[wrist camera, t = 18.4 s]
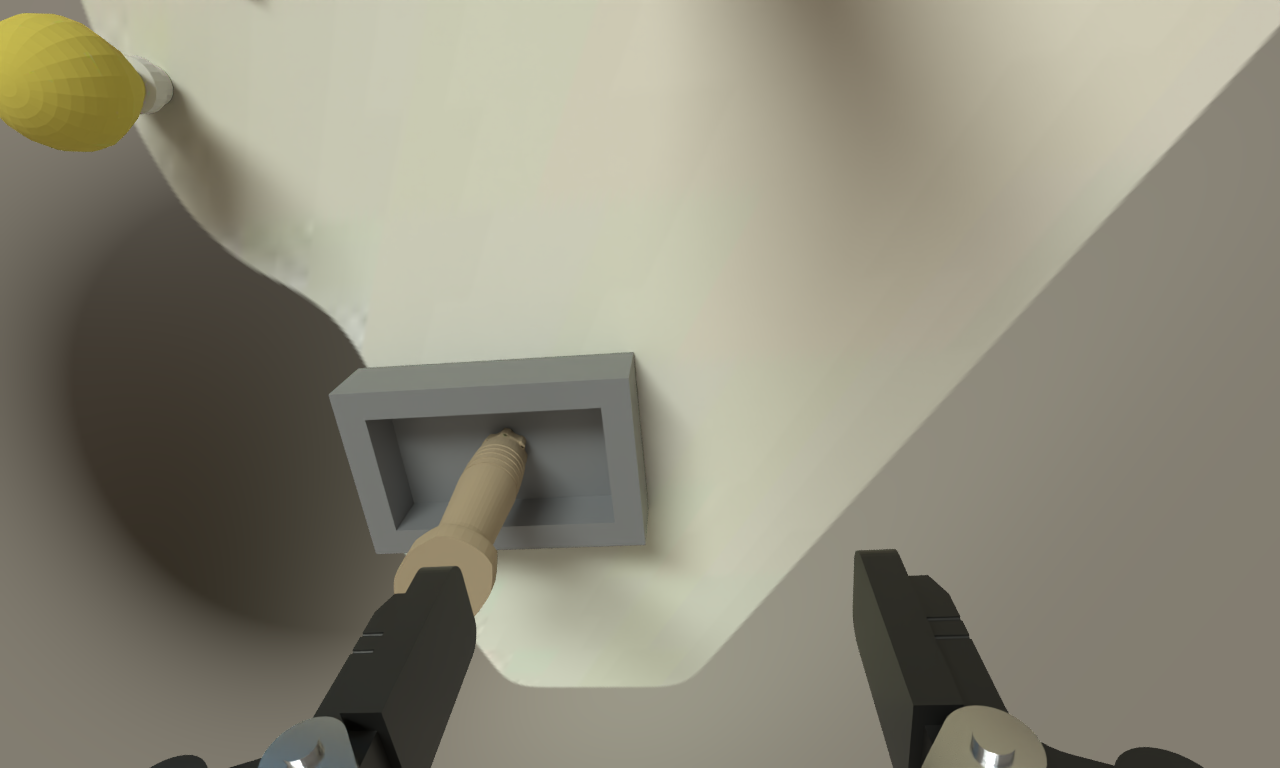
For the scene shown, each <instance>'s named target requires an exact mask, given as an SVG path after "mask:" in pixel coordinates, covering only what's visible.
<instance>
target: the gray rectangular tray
mask: <svg viewBox="0 0 1280 768" xmlns="http://www.w3.org/2000/svg"><path fill="white" fill-rule="evenodd" d="M329 398H330V401H331V405H332V408H333V411H334V415H335V418H336V421H337V425H338V428H339V431H340V434H341V438H342V441H343V445H344V448H345V451H346V454H347V458H348V461H349V464H350V468H351V471H352V474H353V478H354V481H355V484H356V488H357V491H358V494H359V498H360V501H361V504H362V508H363V511H364V514H365V518H366V521H367V524H368V528H369V531H370V534H371V538H372V541H373V544H374V548H375V551H376V554H388V553H408V552H409V550H410V548H411V547H412V545H413V543H414V542H415V541H416V540H417V539H418V538H419V537H421V536H422V535H423V534H425V533H426V532H428V531H430V530H431V529H433V528H435V527H437V526H439V524H440V521H441V519H442V517H443V515H444V513H445V510H446V508H447V506H448V504H449V501H450V499H451V497H452V494H453V492H454V490H455V487H456V485H457V483H458V480H459V478H460V476H461V475H462V473H463V471H464V470H465V468H466V466H467V464H468V463H469V461H470V460H471V458H472V457H473V456H474V454H475V453H476V451H477V450H478V449H479V448H480V447H481V446H482V443H483V442H484V440H485V439H486V438H487V437H488V436H489V435H490V434H497V433H499V432H501V431H502V430H503V429H504V428H509V429H511V430H512V431H513V432H514V433H516V434H518V435H522V436H524V437H525V439H526V445H525V451H526V453H527V454H528V455H527V462H526V465H525V471H524V475H523V479H522V482H521V486H520V489H519V492H518V494H517V497H516V499H515V502H514V504H513V506H512V508H511V510H510V512H509V514H508V516H507V518H506V520H505V522H504V524H503V526H502V528H501V530H500V532H499V534H498V536H497V538H496V540H495V542H494V544H493V546H494V547H495V549H496V550H508V549H538V548H568V547H597V546H627V545H646V533H647V521H648V509H649V508H648V498H647V488H646V477H645V467H644V457H643V446H642V436H641V426H640V415H639V405H638V395H637V384H636V374H635V364H634V353H633V352H629V353H612V354H595V355H579V356H562V357H545V358H528V359H511V360H494V361H478V362H461V363H444V364H427V365H410V366H393V367H377V368H360V369H358V370H356V371H355V372H354V373H353V374H352V375H351V376H349V377H348V378H347V379H346V380H345V381H344V382H343V383H341V384H340V385H339V386H338V387H337V388H336V389H335V390H334V391H332V392H331V393H330V394H329Z"/></svg>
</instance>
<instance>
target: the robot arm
mask: <svg viewBox="0 0 1280 768" xmlns="http://www.w3.org/2000/svg"><path fill="white" fill-rule="evenodd" d="M853 623H854V630H855V637H856V641H857V645H858V649H859V652H860V656H861V659H862V662H863V666H864V669H865V673H866V676H867V679H868V683H869V686H870V690H871V693H872V697H873V700H874V704H875V707H876V710H877V714H878V717H879V721H880V724H881V728H882V731H883V734H884V737H885V741H886V744H887V748H888V751H889V755H890V758H891V762H892V765H893V768H1203V767H1202V766H1200V765H1198V764H1197V763H1195V762H1193V761H1191V760H1190V759H1188V758H1185V757H1183V756H1181V755H1179V754H1176V753H1173V752H1170V751H1167V750H1163V749H1158V748H1150V747H1139V748H1134V749H1130V750H1128V751H1126V752H1124V753H1123V754H1121V755H1120V756H1119V757H1118V759H1117V760H1116V763H1115V766H1113V765H1110V764H1106V763H1102V762H1098V761H1094V760H1090V759H1086V758H1083V757H1079V756H1075V755H1071V754H1068V753H1065V752H1061V751H1059V750H1056V749H1054V748H1051V747H1049V746H1047V745H1046V744H1044V743H1041V742H1040V740H1039V739H1038V737H1037V736H1036V735H1035V734H1034V732H1033V731H1032V730H1031V729H1030V728H1029V727H1028V726H1026V725H1025V724H1024V723H1023V722H1022V721H1020V720H1019V719H1017V718H1016V717H1014V716H1012V715H1010V714H1009V713H1008V711H1007V709H1006V708H1005V706H1004V704H1003V702H1002V700H1001V698H1000V696H999V694H998V692H997V690H996V688H995V686H994V684H993V682H992V680H991V678H990V676H989V674H988V671H987V669H986V667H985V665H984V663H983V662H982V660H981V658H980V655H979V653H978V652H977V649H976V647H975V645H974V644H973V641H972V639H970V638H969V633H968V631H967V629H966V627H965V625H964V623H963V621H961V620H960V615H959V613H958V611H957V609H956V607H955V605H954V603H953V601H952V599H951V597H950V595H949V594H948V593H947V592H946V591H945V590H944V589H943V588H942V587H941V586H939V585H938V584H937V583H936V582H935V581H934V580H933V579H932V578H931V577H929V576H928V575H920V576H908V574H907V572H906V569H905V567H904V565H903V563H902V560H901V558H900V556H899V554H898V552H897V550H895V549H884V550H859V551H856V552H855V558H854V587H853ZM475 644H476V623H475V618H474V615H473V611H472V607H471V604H470V600H469V596H468V593H467V589H466V585H465V582H464V578H463V574H462V572H461V569H460V568H459V567H458V566H441V567H422V568H420V569H419V570H418V571H417V573H416V575H415V576H414V578H413V580H412V582H411V584H410V586H409V587H408V589H407V591H406V593H397V594H394V595H393V596H392V597H391V598H390V599H389V600H388V601H387V602H385V603H384V604H383V605H382V606H381V607H380V608H379V609H378V610H377V611H376V612H375V613H374V615H373V616H372V618H371V620H370V621H369V623H368V625H367V627H366V628H365V630H364V632H363V637H360V638H359V640H358V642H357V644H356V645H355V647H354V649H353V654H351V655H349V657H348V659H347V661H346V662H345V664H344V666H343V667H342V669H341V671H340V673H339V674H338V676H337V678H336V679H335V681H334V683H333V684H332V686H331V688H330V690H329V691H328V693H327V695H326V696H325V698H324V700H323V702H322V703H321V705H320V707H319V708H318V710H317V712H316V714H315V715H314V717H313V718H311V719H308V720H305V721H302V722H300V723H298V724H296V725H294V726H293V727H291V728H289V729H288V730H286V731H285V732H284V733H282V734H281V735H280V736H279V737H278V738H276V739H275V741H274V742H273V743H272V744H271V745H270V746H269V747H268V749H267V750H266V751H265V753H264V755H263V756H262V758H260V759H257V760H254V761H251V762H247V763H244V764H240V765H237V766H234V767H230V768H431V765H432V762H433V760H434V757H435V754H436V752H437V749H438V746H439V744H440V741H441V738H442V736H443V733H444V730H445V728H446V725H447V722H448V720H449V717H450V714H451V712H452V709H453V706H454V704H455V701H456V698H457V696H458V693H459V690H460V688H461V685H462V682H463V679H464V677H465V674H466V672H467V669H468V666H469V664H470V661H471V658H472V656H473V653H474V649H475ZM151 768H208V767H207V765H206V763H205V762H204V761H203V760H202V759H201V758H199V757H197V756H193V755H183V756H177V757H173V758H170V759H167V760H164V761H162V762H160V763H158V764H156V765H154V766H152V767H151Z"/></svg>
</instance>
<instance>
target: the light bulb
mask: <svg viewBox="0 0 1280 768" xmlns="http://www.w3.org/2000/svg"><path fill="white" fill-rule="evenodd" d="M172 96H173V86H172V82H171V80H170V78H169V76H168V75H167V74H166V73H165V71H164V70H162V69H161V68H160V67H158V66H156V65H153V64H152V63H151V62H149V61H148V60H147V59H145V58H142V57H139V56H133V55H123V54H122V53H121V52H120V51H119V50H117V49H116V48H115V47H113V46H112V45H111V44H109V43H108V42H107V41H105V40H104V39H103V38H101V37H100V36H99V35H97V34H96V33H94V32H93V31H92V30H90V29H89V28H87V27H86V26H85V25H83V24H81V23H79V22H76V21H73V20H71V19H68V18H65V17H63V16H60V15H55V14H33V13H31V14H30V13H23V14H19V15H15V16H12V17H10V18H8V19H5V20H3V21H0V118H1V119H2V120H3V121H4V122H5V123H6V124H7V125H8V126H10V127H11V128H13V129H15V130H16V131H17V132H19V133H20V134H22V135H23V136H25V137H27V138H28V139H30V140H32V141H35V142H38V143H40V144H43V145H46V146H49V147H51V148H55V149H57V150H63V151H78V152H80V151H81V152H93V151H97V150H101V149H103V148H107V147H109V146H112V145H115V144H116V143H117V142H118V141H119V140H120V139H121V138H122V137H123V136H124V135H125V134H126V133H127V132H128V131H129V129H130V128H131V127H132V126H133V124H134V123H135V122H136V120H137V119H138V117H139V115H140V114H152V113H154V112H157V111H159V110H160V109H161V108H162V107H163V106H164V105H165V104H167V103H168V102H169V101H170V100H171V98H172Z"/></svg>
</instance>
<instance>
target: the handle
mask: <svg viewBox="0 0 1280 768" xmlns="http://www.w3.org/2000/svg"><path fill="white" fill-rule="evenodd" d="M525 445H526V439H525V437H524V436H522V435H518V434H516V433H514V432H513V431H512V430H511V429H509V428H504V429H503V430H502V431H501V432H499V433H497V434H490V435H489V436H488V437H487V438H486V439H485V440H484V442H483V443H482V446H481V447H480V448H479V449H478V450H477V451H476V453H475V454H474V456H473V457H472V458H471V460H470V461H469V463H468V464H467V466H466V468H465V470H464V471H463V473H462V475H461V476H460V478H459V480H458V483H457V485H456V487H455V490H454V492H453V494H452V497H451V499H450V501H449V504H448V506H447V508H446V510H445V513H444V515H443V517H442V519H441V521H440V524H439V526H437V527H435V528H433V529H431V530H430V531H428V532H426V533H425V534H423V535H422V536H421V537H419V538H418V539H417V540H416V541H415V542H414V543H413V545H412V547H411V548H410V550H409V552H408V553H407V555H406V557H405V558H404V560H403V562H402V563H401V565H400V567H399V569H398V571H397V573H396V575H395V579H394V594H397V593H406V591H407V589H408V587H409V586H410V584H411V582H412V580H413V578H414V576H415V575H416V573H417V571H418V570H419V569H420V568H422V567H441V566H458V567H459V568H460V569H461V572H462V574H463V578H464V582H465V585H466V589H467V593H468V596H469V600H470V604H471V607H472V611H473V615H474V616H475V615H476V614H477V613H478V612H479V610H480V609H481V607H482V606H483V604H484V603H485V602H486V600H487V599H488V597H489V595H490V593H491V590H492V588H493V585H494V583H495V580H496V572H497V550H496V549H495V547H494V546H493V544H494V542H495V540H496V538H497V536H498V534H499V532H500V530H501V528H502V526H503V524H504V522H505V520H506V518H507V516H508V514H509V512H510V510H511V508H512V506H513V504H514V502H515V499H516V497H517V494H518V492H519V489H520V486H521V482H522V479H523V475H524V471H525V465H526V462H527V455H528V454H527V453H526V451H525Z"/></svg>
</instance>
